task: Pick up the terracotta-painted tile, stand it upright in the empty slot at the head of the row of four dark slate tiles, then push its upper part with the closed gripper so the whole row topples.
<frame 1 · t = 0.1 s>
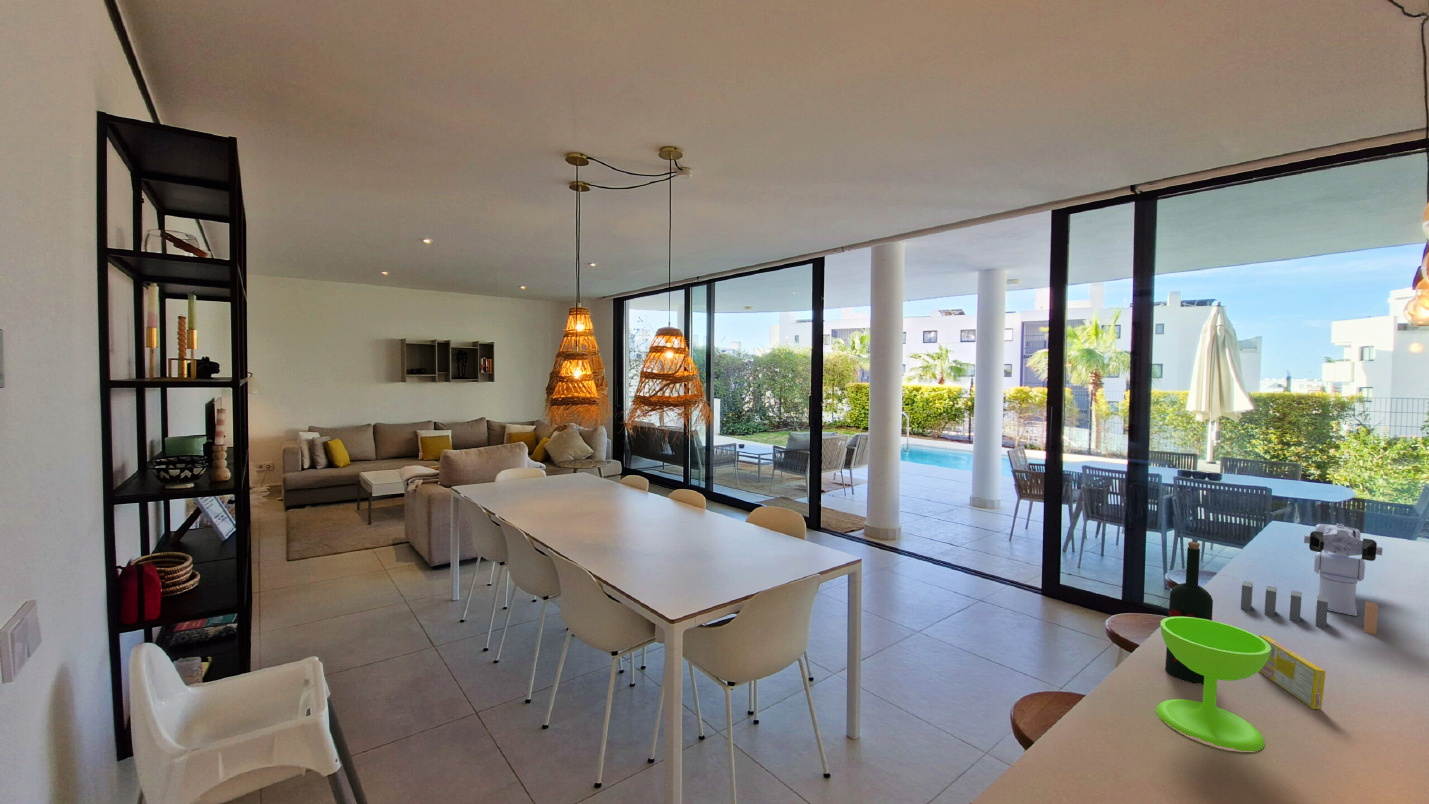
hand: (1342, 548, 154), 22 cm above the kitchen island, tool horizontal, fingers open, 7 cm apart
tile 2: (1320, 623, 158), on the kitchen island
tile head: (1369, 630, 154), on the kitchen island
candy box: (1287, 689, 125), on the kitchen island
wineglass: (1207, 726, 112), on the kitchen island
tile 4: (1269, 612, 165), on the kitchen island
tile 3: (1294, 618, 161), on the kitchen island
wine bottle: (1184, 676, 130), on the kitchen island
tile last: (1246, 607, 169), on the kitchen island
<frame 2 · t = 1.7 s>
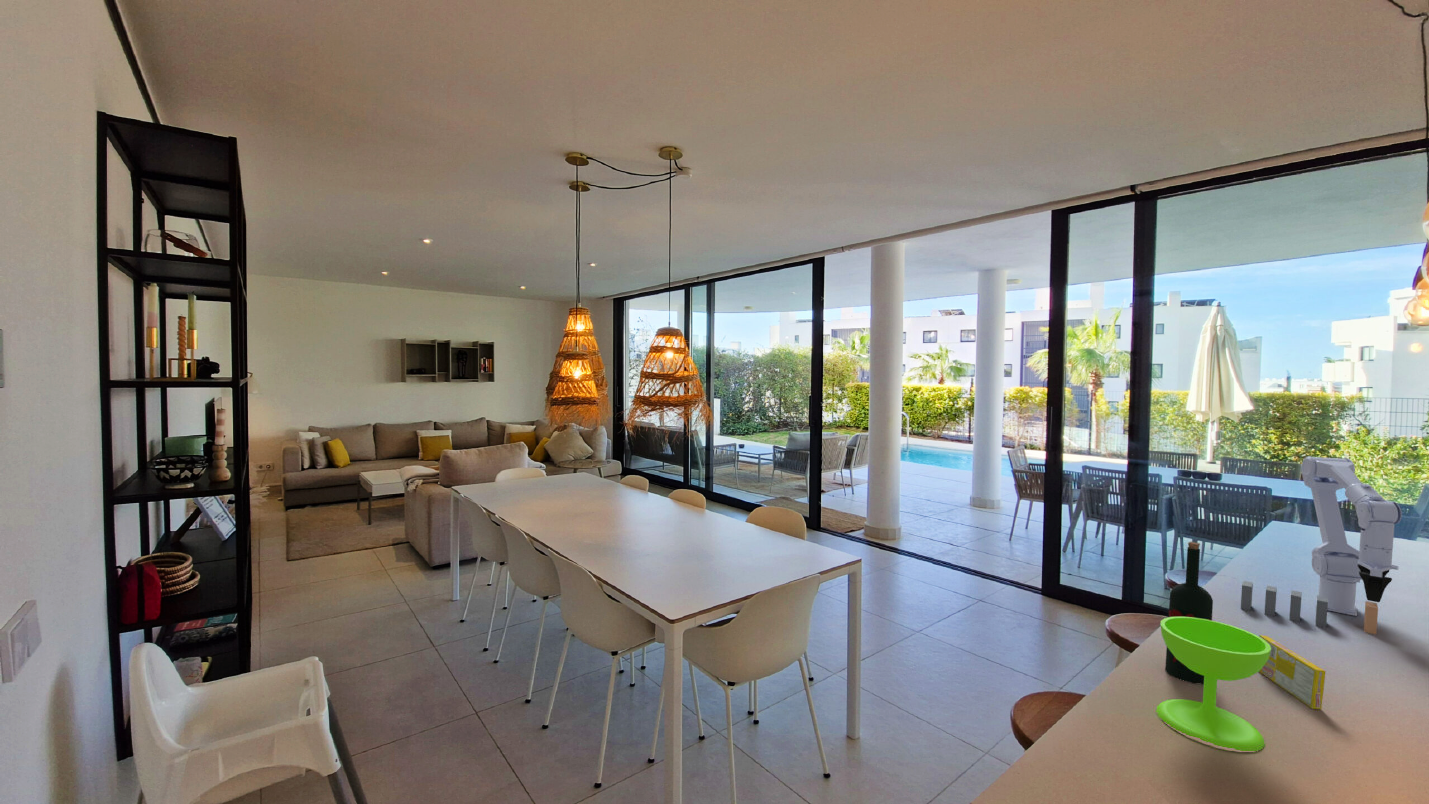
hand: (1372, 597, 154), 9 cm above the kitchen island, tool pointing down, fingers open, 7 cm apart
nothing on the kitchen island moved.
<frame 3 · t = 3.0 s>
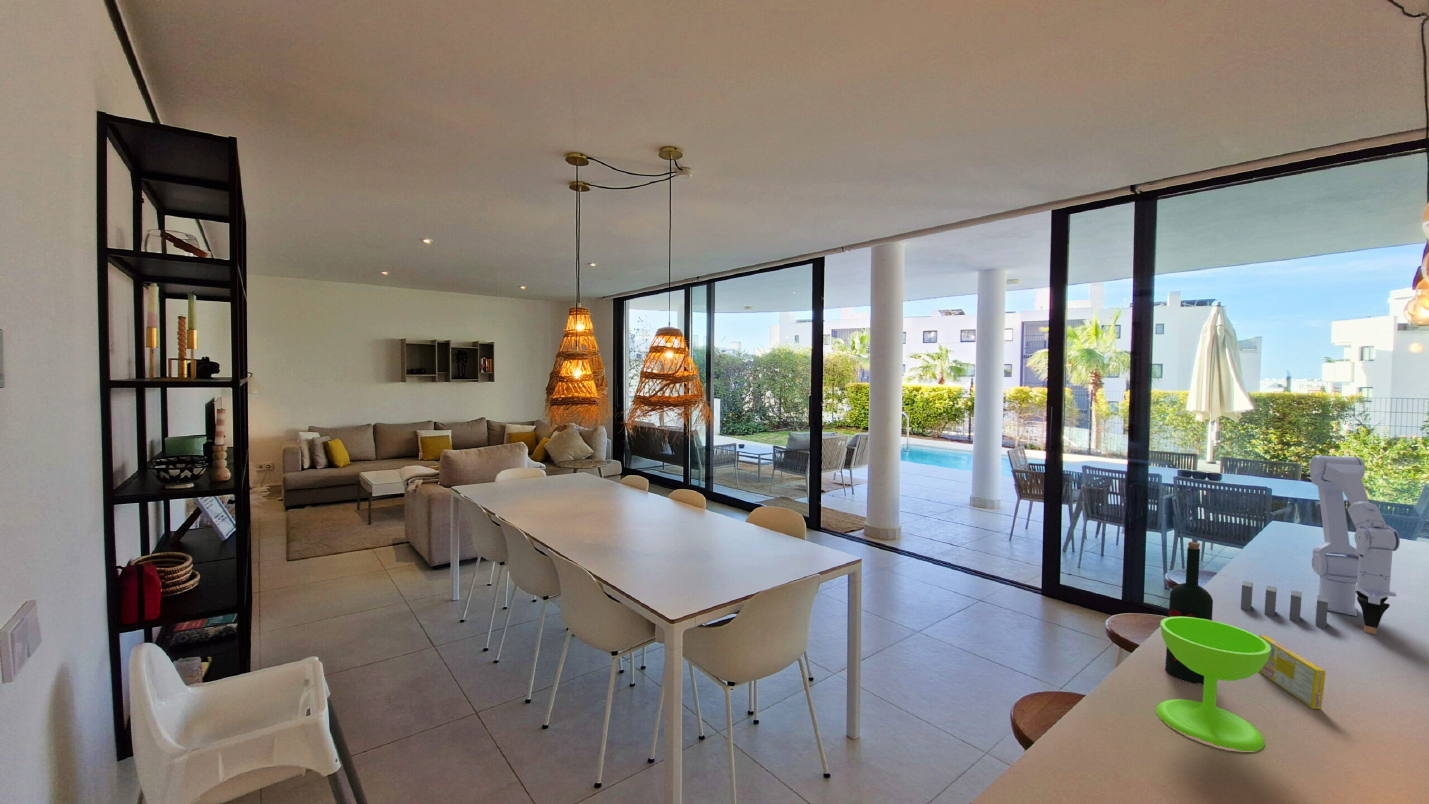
hand: (1370, 623, 154), 2 cm above the kitchen island, tool pointing down, fingers closed on tile head, 5 cm apart
tile head: (1369, 630, 154), on the kitchen island, touching gripper
everything else where it was.
when the fingers open (3 cm above the kitchen island, at t = 5.8 s): tile head drops 1 cm, on the kitchen island.
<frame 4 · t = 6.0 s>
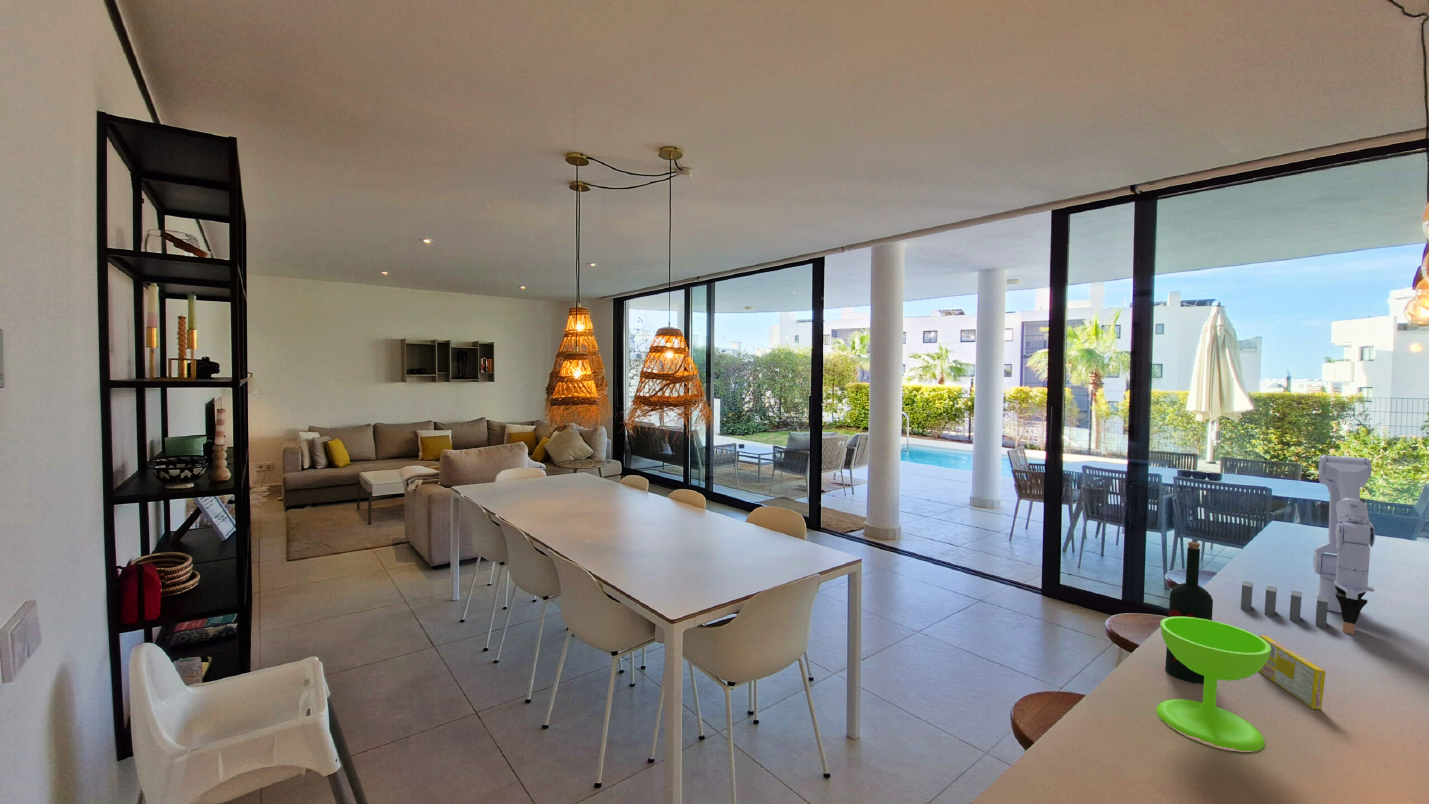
hand: (1348, 618, 154), 3 cm above the kitchen island, tool pointing down, fingers open, 7 cm apart
tile head: (1348, 630, 154), on the kitchen island
everything else where it was.
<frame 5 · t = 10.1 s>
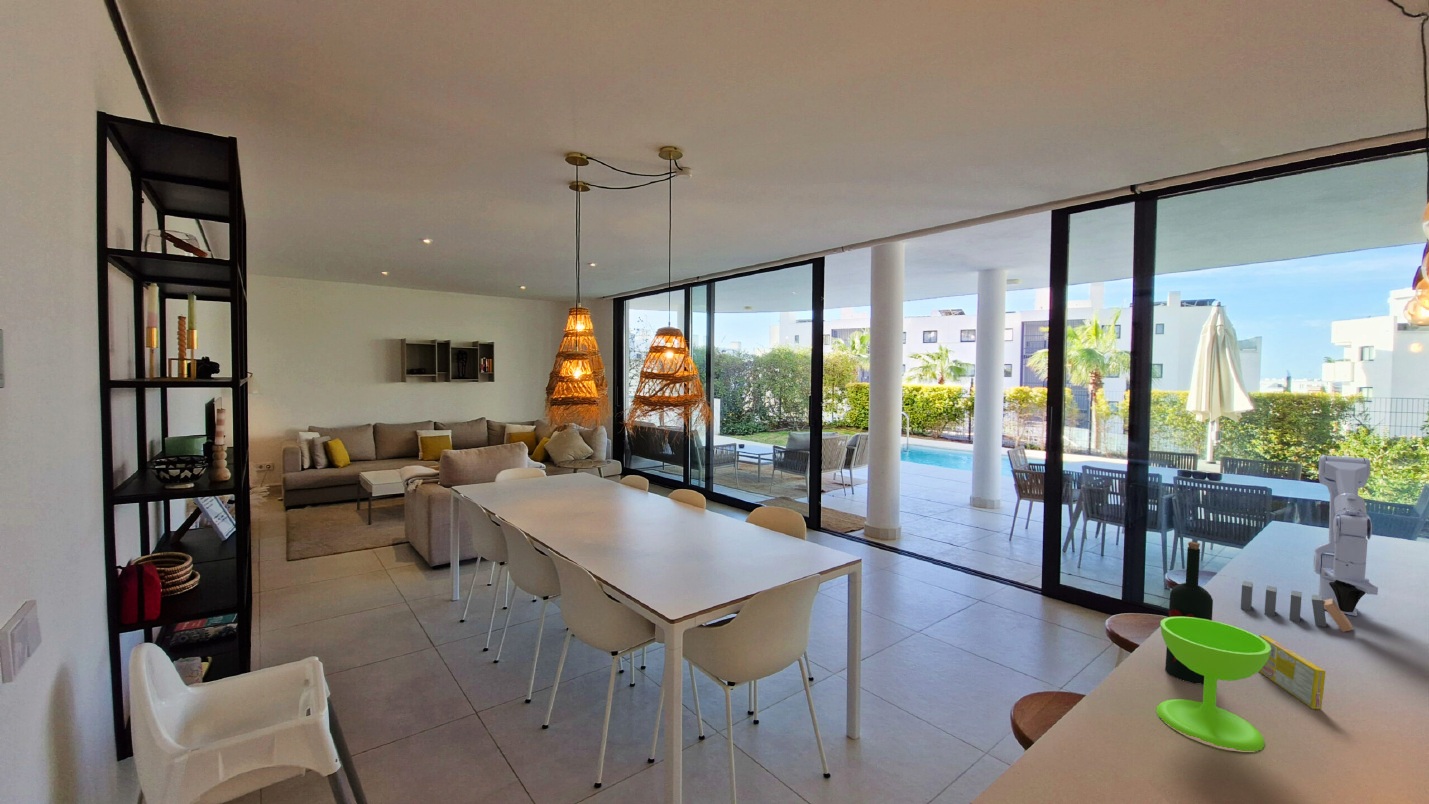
hand: (1346, 611, 154), 5 cm above the kitchen island, tool pointing down, fingers closed
tile 2: (1320, 623, 158), on the kitchen island, tilted 8°
tile head: (1347, 627, 154), point 1 cm above the kitchen island, tilted 33°
everything else where it was.
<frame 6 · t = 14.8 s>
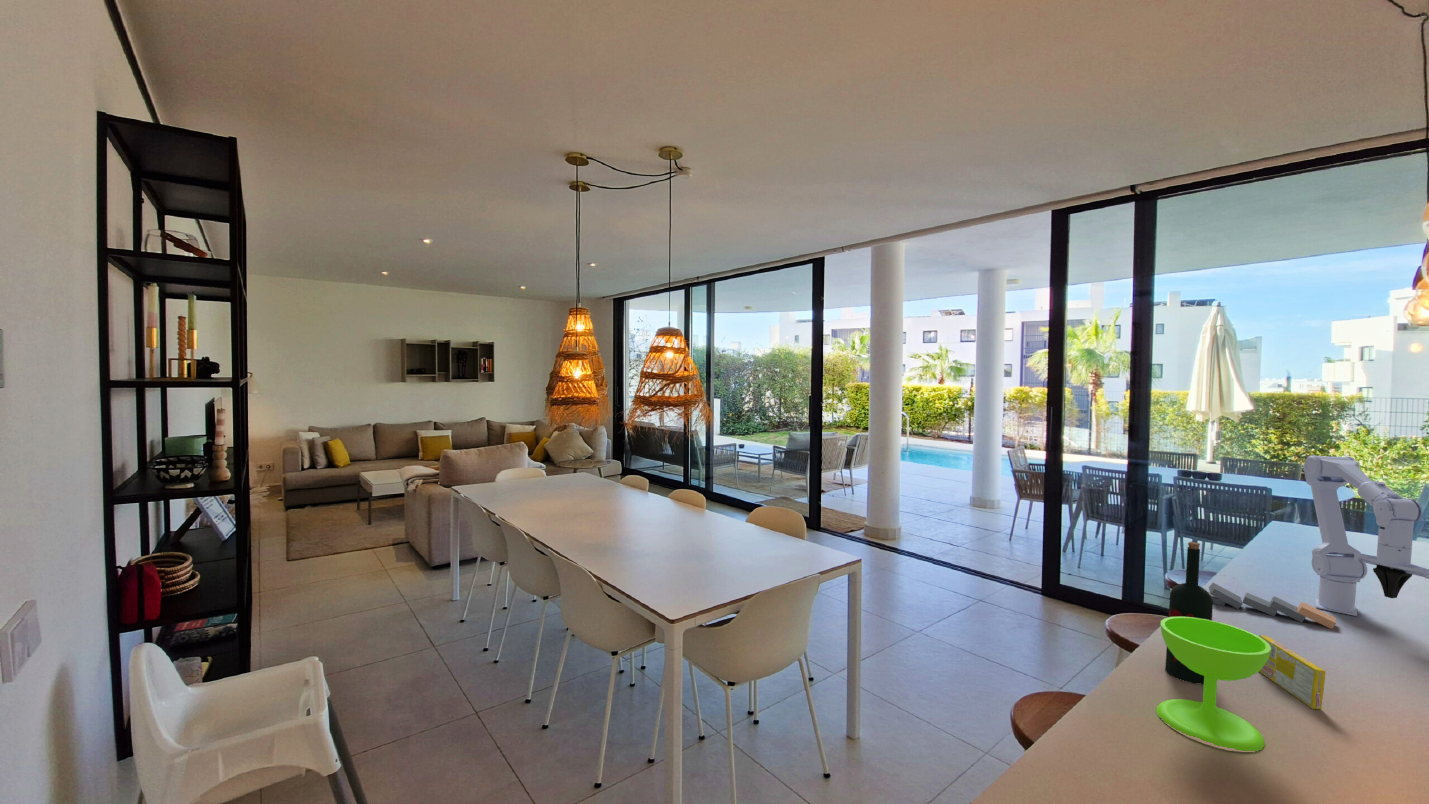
hand: (1390, 596, 150), 10 cm above the kitchen island, tool pointing down, fingers closed
tile 2: (1303, 616, 160), point 1 cm above the kitchen island, tilted 69°, touching tile 3, tile head
tile head: (1333, 623, 156), point 1 cm above the kitchen island, tilted 69°, touching tile 2
tile 4: (1239, 602, 169), point 1 cm above the kitchen island, tilted 64°, touching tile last
tile 3: (1276, 610, 164), point 1 cm above the kitchen island, tilted 74°, touching tile 2
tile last: (1225, 601, 171), on the kitchen island, tilted 89°, touching tile 4
everything else where it was.
at the end: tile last tilted 89°; tile head tilted 69°; tile head inside the target area (1.6 cm from its centre), point 0.9 cm above the kitchen island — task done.
